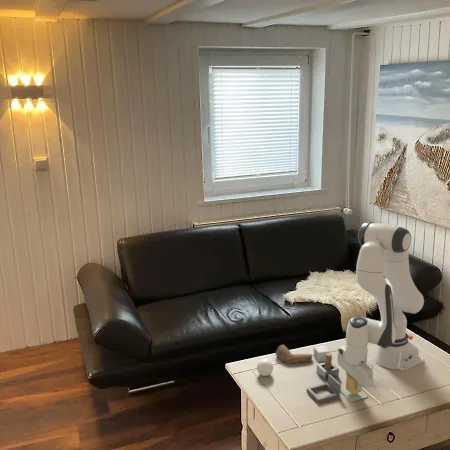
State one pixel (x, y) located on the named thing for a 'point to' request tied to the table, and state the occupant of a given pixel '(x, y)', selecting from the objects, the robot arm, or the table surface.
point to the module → (352, 385)
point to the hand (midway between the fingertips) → (353, 385)
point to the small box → (320, 353)
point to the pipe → (292, 355)
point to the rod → (328, 361)
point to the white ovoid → (264, 367)
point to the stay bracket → (327, 371)
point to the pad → (353, 395)
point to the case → (331, 386)
